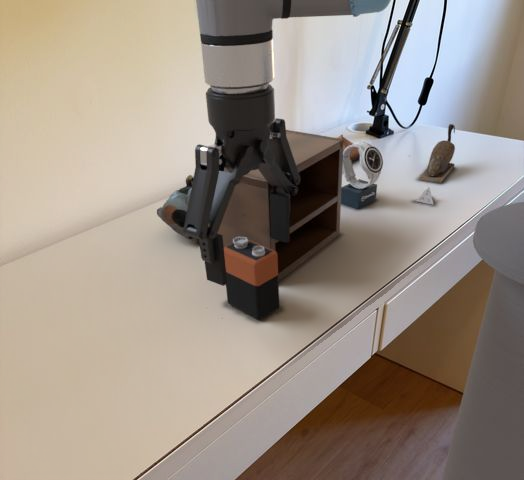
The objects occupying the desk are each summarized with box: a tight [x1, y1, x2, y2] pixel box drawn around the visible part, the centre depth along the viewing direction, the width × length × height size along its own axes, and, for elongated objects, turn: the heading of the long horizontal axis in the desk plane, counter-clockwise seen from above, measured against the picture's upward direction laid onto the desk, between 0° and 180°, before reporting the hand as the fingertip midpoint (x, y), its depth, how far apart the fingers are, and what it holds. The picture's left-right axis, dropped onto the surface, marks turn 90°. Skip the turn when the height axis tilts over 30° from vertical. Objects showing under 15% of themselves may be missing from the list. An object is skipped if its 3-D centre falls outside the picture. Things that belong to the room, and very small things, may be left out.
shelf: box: [208, 129, 344, 282], centre depth 84 cm, size 12×20×16 cm, turn 143°
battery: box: [224, 237, 280, 320], centre depth 73 cm, size 4×7×10 cm, turn 45°
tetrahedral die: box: [415, 186, 435, 206], centre depth 101 cm, size 4×3×3 cm
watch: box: [341, 141, 384, 210], centre depth 99 cm, size 6×8×11 cm
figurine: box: [419, 123, 456, 184], centre depth 110 cm, size 14×4×9 cm, turn 149°
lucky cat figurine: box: [156, 174, 199, 242], centre depth 93 cm, size 15×12×14 cm
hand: (250, 259), depth 70 cm, fingers open, 13 cm apart
